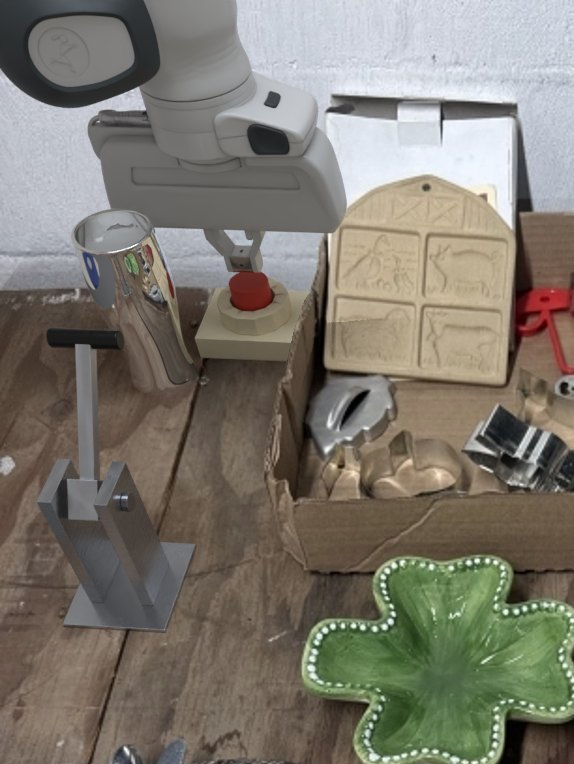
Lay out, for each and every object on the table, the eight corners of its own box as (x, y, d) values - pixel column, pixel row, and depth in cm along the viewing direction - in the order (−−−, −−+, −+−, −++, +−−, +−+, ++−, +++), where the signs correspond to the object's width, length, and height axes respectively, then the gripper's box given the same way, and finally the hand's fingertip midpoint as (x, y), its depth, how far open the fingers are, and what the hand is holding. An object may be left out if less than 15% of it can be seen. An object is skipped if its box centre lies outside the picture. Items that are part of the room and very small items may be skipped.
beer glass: (190, 409, 97) (136, 257, 85) (117, 402, 98) (53, 250, 85) (215, 361, 101) (167, 209, 89) (145, 355, 102) (88, 203, 89)
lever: (58, 330, 76) (41, 324, 73) (128, 333, 75) (112, 327, 73) (65, 518, 78) (48, 518, 76) (132, 521, 78) (117, 521, 75)
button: (229, 311, 99) (224, 292, 98) (239, 288, 101) (233, 269, 100) (267, 313, 99) (262, 293, 98) (276, 290, 101) (271, 270, 100)
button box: (200, 358, 101) (188, 321, 98) (221, 307, 106) (210, 270, 103) (304, 362, 101) (295, 325, 98) (321, 311, 105) (313, 274, 102)
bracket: (104, 548, 87) (47, 435, 78) (199, 553, 87) (155, 440, 77) (67, 634, 82) (2, 524, 73) (169, 639, 82) (117, 530, 72)
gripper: (66, 129, 85) (125, 285, 97) (319, 136, 84) (348, 293, 95) (91, 90, 89) (145, 245, 100) (334, 96, 87) (360, 252, 99)
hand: (246, 269), depth 98 cm, fingers closed
